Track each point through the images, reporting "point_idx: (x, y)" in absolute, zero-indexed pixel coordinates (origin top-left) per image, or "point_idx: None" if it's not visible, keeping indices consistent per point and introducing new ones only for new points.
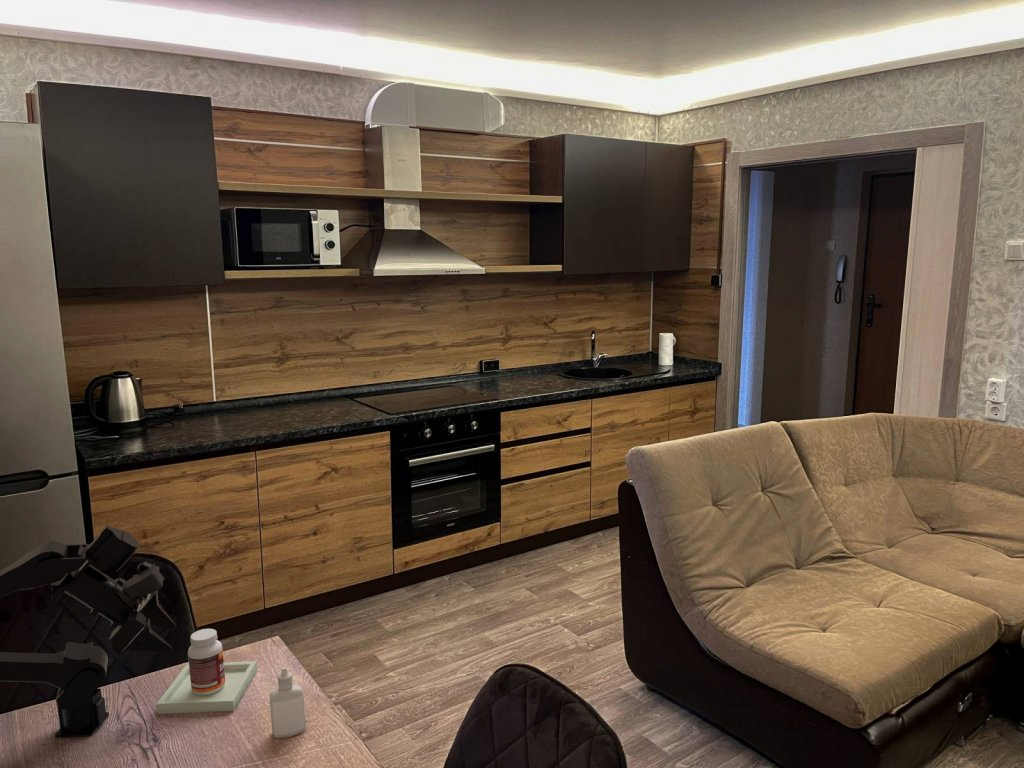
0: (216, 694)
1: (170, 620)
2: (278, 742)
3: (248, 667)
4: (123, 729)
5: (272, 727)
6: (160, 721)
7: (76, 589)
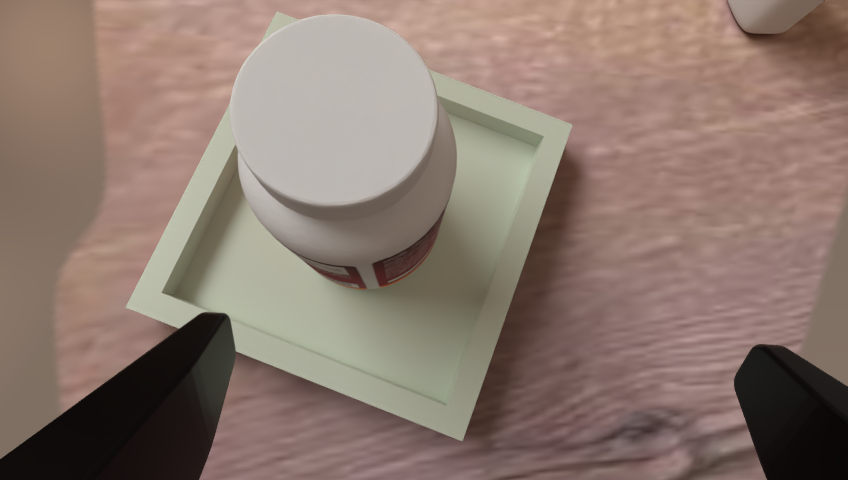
0: None
1: (184, 374)
2: (802, 27)
3: None
4: None
5: (807, 13)
6: (520, 416)
7: None
